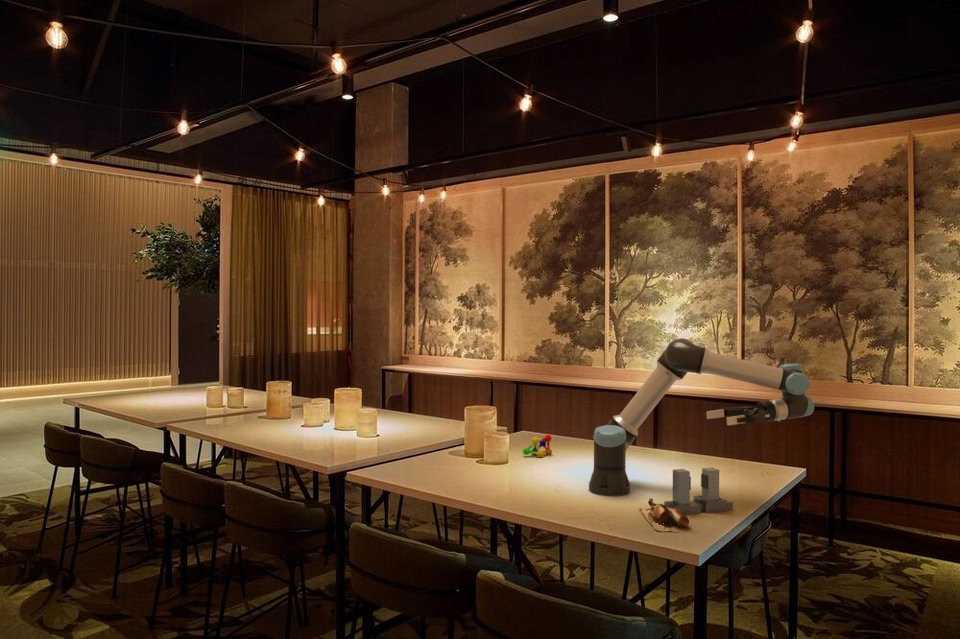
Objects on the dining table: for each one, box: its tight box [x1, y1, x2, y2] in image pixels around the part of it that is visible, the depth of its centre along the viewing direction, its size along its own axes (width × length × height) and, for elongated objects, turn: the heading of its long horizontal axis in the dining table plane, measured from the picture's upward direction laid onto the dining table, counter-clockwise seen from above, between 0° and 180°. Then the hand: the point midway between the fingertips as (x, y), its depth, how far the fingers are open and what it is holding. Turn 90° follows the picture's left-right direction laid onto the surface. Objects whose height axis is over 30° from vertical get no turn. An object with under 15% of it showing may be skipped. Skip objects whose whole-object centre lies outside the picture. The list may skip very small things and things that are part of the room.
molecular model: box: [522, 434, 553, 458], centre depth 317 cm, size 11×10×15 cm
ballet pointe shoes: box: [639, 497, 690, 533], centre depth 219 cm, size 14×7×28 cm
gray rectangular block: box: [700, 467, 720, 501], centre depth 231 cm, size 5×4×11 cm
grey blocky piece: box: [663, 468, 734, 515], centre depth 230 cm, size 22×8×14 cm, turn 104°
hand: (716, 418), depth 242 cm, fingers open, 13 cm apart
